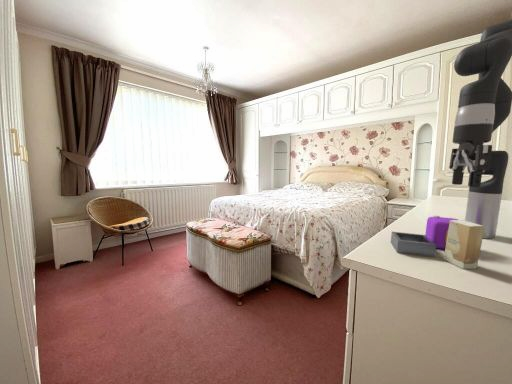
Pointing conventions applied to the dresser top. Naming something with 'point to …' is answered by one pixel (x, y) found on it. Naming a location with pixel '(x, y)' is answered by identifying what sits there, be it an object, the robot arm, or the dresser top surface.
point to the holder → (413, 244)
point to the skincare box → (464, 244)
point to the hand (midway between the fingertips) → (464, 185)
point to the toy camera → (438, 230)
